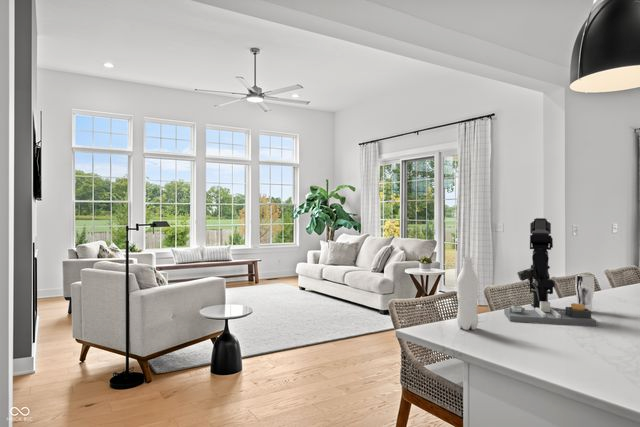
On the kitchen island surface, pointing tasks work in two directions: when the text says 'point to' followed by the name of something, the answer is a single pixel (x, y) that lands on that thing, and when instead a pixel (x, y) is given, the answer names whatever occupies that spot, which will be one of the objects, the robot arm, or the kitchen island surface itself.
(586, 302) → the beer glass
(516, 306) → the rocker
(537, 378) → the kitchen island surface
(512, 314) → the panel
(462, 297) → the water bottle
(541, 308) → the cream rectangular brick
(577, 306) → the button
